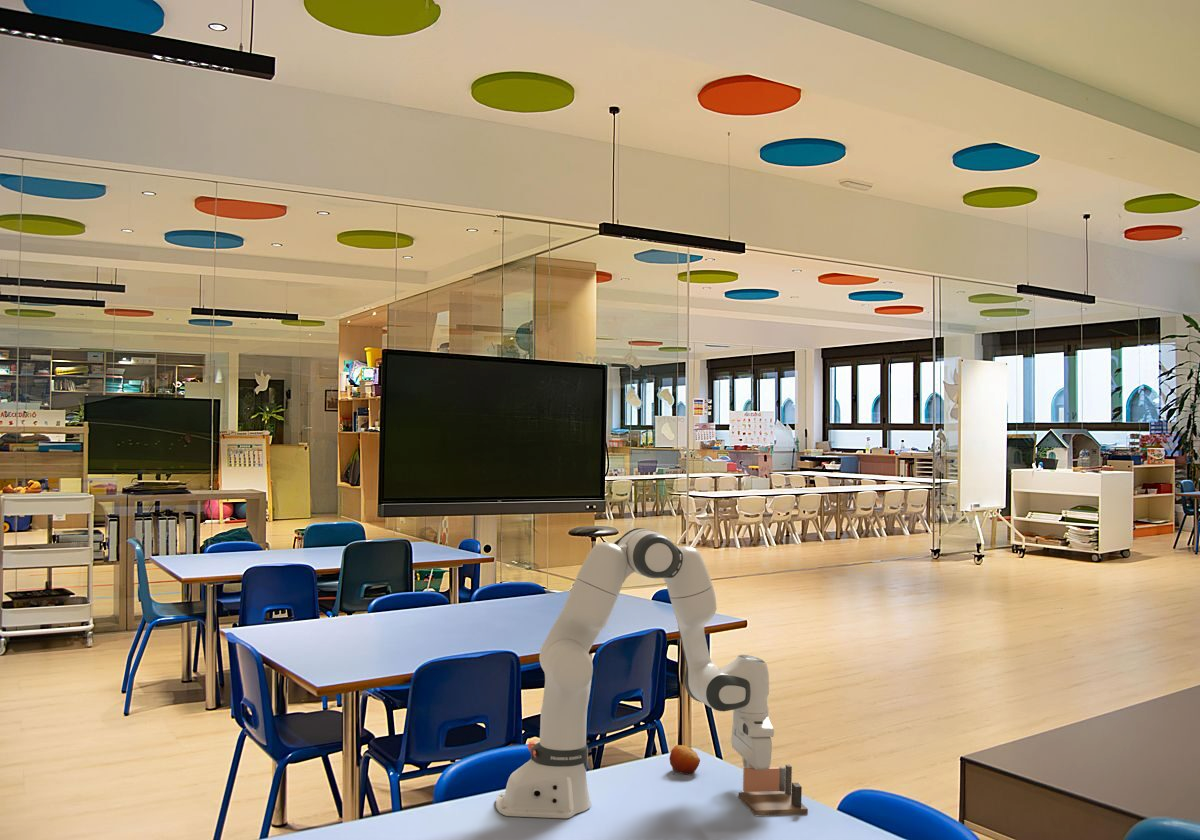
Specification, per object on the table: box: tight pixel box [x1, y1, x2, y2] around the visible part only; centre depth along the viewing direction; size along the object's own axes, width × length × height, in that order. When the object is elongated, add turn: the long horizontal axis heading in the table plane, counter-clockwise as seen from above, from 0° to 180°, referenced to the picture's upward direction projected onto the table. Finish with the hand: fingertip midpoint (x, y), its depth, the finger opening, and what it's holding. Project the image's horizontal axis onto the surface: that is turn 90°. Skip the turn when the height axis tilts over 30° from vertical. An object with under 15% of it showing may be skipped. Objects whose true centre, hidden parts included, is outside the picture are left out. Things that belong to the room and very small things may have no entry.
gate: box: [742, 766, 786, 792], centre depth 236 cm, size 11×2×6 cm, turn 100°
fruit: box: [669, 744, 701, 775], centre depth 256 cm, size 8×8×8 cm
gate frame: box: [738, 764, 809, 816], centre depth 232 cm, size 13×13×8 cm
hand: (749, 777), depth 240 cm, fingers closed
